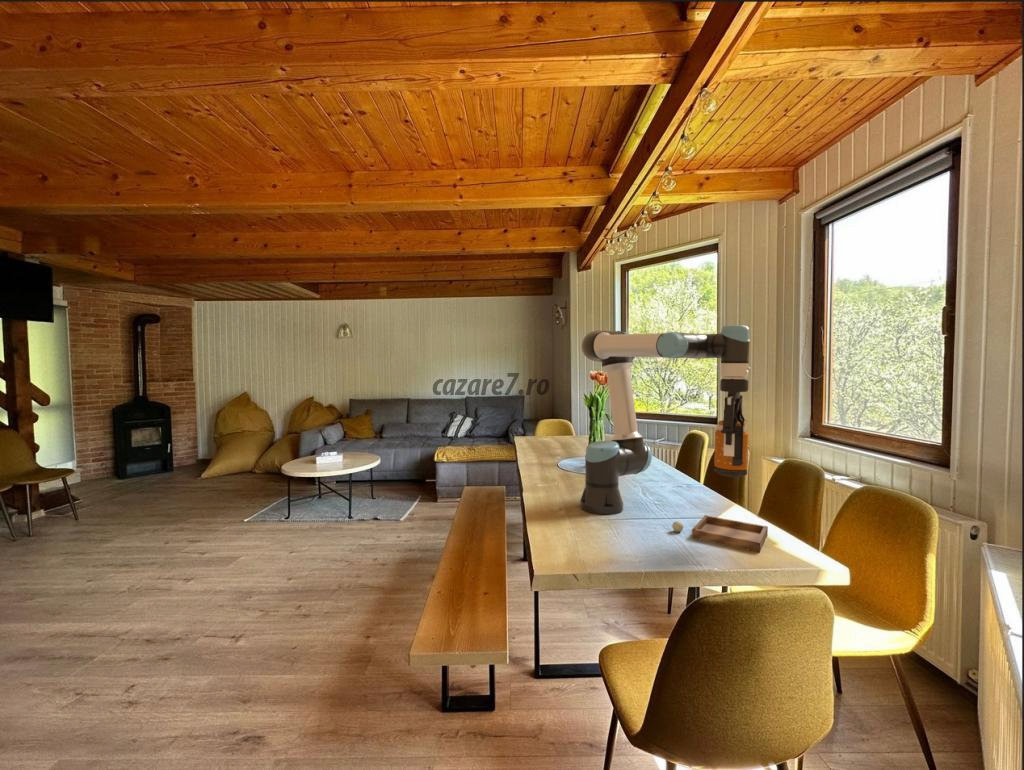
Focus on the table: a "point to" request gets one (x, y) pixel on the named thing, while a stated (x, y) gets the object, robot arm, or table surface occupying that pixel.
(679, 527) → the ball
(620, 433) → the robot arm
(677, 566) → the table surface
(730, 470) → the canister
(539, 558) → the table surface
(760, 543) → the tray
